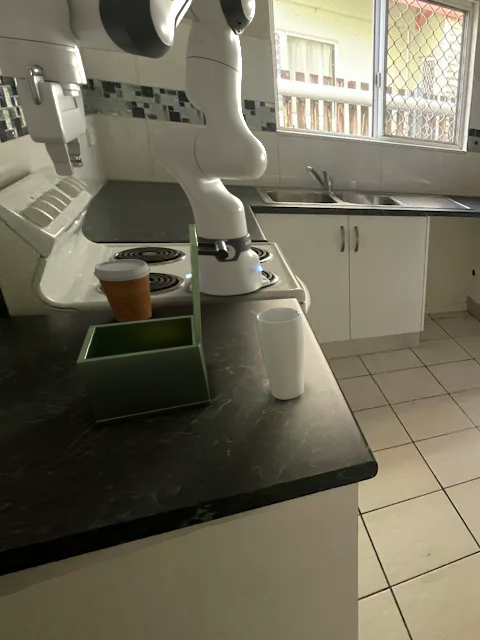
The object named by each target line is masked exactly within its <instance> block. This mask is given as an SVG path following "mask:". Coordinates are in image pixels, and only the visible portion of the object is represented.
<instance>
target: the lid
mask: <svg viewBox="0 0 480 640" xmlns="http://www.w3.org/2000/svg"><path fill="white" fill-rule="evenodd" d="M188 231H189V253H190V254H189V255H190V274H191V277H190V278H191V279H190V280H191V282H190V283H192V291H191V300H192V301H191V302H192V315H193V320H194V332H195V343H202V322H201V321H202V320H201V319H202V318H201V297H200V296H201V295H200V294H201V292H200V290H199V264H198V255H207V256H217V257H218V258H220V259H226V258H227V257H228V251H227V248H226V245H225V243H224V242H223V241H221V240H217V241H216V242H215V243H210V242H197V237H196V235H197V229H196V224H188ZM198 247H210V248H215V250H216V251H214V250H199V249H198Z"/></svg>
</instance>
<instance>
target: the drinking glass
mask: <svg viewBox="0 0 480 640" xmlns="http://www.w3.org/2000/svg"><path fill="white" fill-rule="evenodd" d="M255 317H256V328H257V334H258V335H257V336H258V341H259V346H260V349H261V354H262V357H263V362H264V366H265V370H266V374H267V378H268V383H269V389H270V394H271V396H272V397H273V398H275V399H277V400H280V401H281V400H283V401H289V400H293V399H295V398H298V397H300V396H301V395H303V393H304V391H305V383H304V343H305V342H304V326H303V325H304V324H303V320H302V319H303V317H302V312H301V311H300V310H298V309H295V308H291V307H273V308H267V309H264V310H261V311H260V312H258V313H257V314H256V316H255Z"/></svg>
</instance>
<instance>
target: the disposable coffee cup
mask: <svg viewBox="0 0 480 640" xmlns="http://www.w3.org/2000/svg"><path fill="white" fill-rule="evenodd" d="M150 271H151V267H150V266H149V265H148V264H147V262H146V261H144V260H141V259H134V258H133V259H132V258H131V259H130V258H128V259H127V258H125V259H114V260H113V259H112V260H107V261H103V262H100V263H98V264H96V265H95V266H94V271H93V275H94V276H95V278H96V279H97V280H98V282H99V284H100V286H101V288H102V290H103V293H104V295H105V297H106V299H107V301H108V304H109V306H110V308H111V310H112V313H113V315H114V317H115V319H116V321H117V322H118V323H123V322H132V321H142V320H149V319H150V318H152V315H153V314H152V301H151V300H152V299H151V297H152V296H151V285H150V284H151V283H150V273H151V272H150Z"/></svg>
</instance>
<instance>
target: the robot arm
mask: <svg viewBox="0 0 480 640" xmlns="http://www.w3.org/2000/svg"><path fill="white" fill-rule="evenodd" d="M255 12H256V1H255V0H0V72H1V75H2V76H3V77H6V78H12V79H13V78H14V79H15V80H16V91H17V94H18V99H19V104H20V108H21V111H22V115H23V119H24V122H25V126H26V130H27V133H28V135H29V137H30V139H31V141H33V142H34V143H37V144H44V146H45V150H46V152H47V155H48V156H49V158H50V160H51V162H52V163H53V167H54V170H55V174H57V175H58V176H59V177H70V176H73V175H74V173H75V170H74V168H83V166H84V160H83V156H82V144H81V139H80V137H81V136H83V135H85V134H86V133H87V122H86V121H87V120H86V114H85V107H84V100H83V93H82V90H81V89H82V88H81V85H88V81H87V77H86V73H85V68H84V64H83V60H82V56H81V52H80V49H87V50H88V49H89V50H95V51H105V52H113V53H122V54H130V55H133V56H138V57H144V58H148V59H149V58H150V59H153V60H154V59H161V58H163V57H165V55H166V54H167V53H168V52H169V51H170V50H171V48H172V47H173V44H174V42H175V38H176V32H177V29H178V26H179V24H180V23H181V21H182V20H183V19H186V20H190V21H191V24H190V25H191V26H190V29H189V32H188V33H189V34H188V38H187V44H186V51H185V52H186V53H185V72H184V74H185V75H184V94H185V97H186V98H187V100H188V102H189V103H190V104H191V105H192V106H193V107H195V108H196V109H197V110H198V111H200V112H201V113H203V114H204V119H205V128H203V127H195V126H185V125H184V126H183V125H174V126H166V127H160V128H158V129H156V130H155V131H154V133H153V135H152V137H151V138H150V139H151V140H150V151H151V155H152V156H153V159H154V160H155V162H156V163H158V165H159V166H160V167H161V168H163V169H164V170H165V171H167V172H168V173H169V174H170V175H171V176H172V177H173V178H174V179H175V181H176V182H177V183H178V185H180V187H181V188H182V190H183V191H184V193H185V195H186V197H187V199H188V201H189V204H190V206H191V210H192V214H193V219H194V224H195V229H196V237H197V242H210V243H215V242H216V241H217V240H221V241H223V242H224V243H225V245H226V248H227V251H228V257H227V258H226V259H220V258H218V257H217V256H207V255H198V264H199V290H200V293H203V294H207V295H211V296H237V295H243V294H249V293H252V292H255V291H257V290H259V289H261V288H263V287H265V286H269V285H271V280H270V279H269V278H268V277H266V276H265V275H264V274H263V273H262V271H263V268H262V267H261V261H260V256H259V255H258V254H257V253H256V252H254V251H253V250H252V249H251V248H252V239H251V236H250V233H249V232H248V227H247V219H246V212H245V207H244V204H243V202H242V201H241V200H240V199H239V198H238V197H237V196H235V195H234V194H232V193H231V192H230V191H228V190H227V188H226V187H225V186H224V184H223V182H222V181H221V180H222V179H223V180H231V181H248V180H255V179H256V180H257V179H259V178H261V177H262V176H263V175H264V173H265V171H266V170H267V165H268V156H267V152H266V150H265V147H264V146H263V143H261V141H260V139H258V138H256V137H255V135H254V134H253V133H252V132H251V130H250V129H249V127H248V125H247V124H246V121H245V118H244V116H243V113H242V98H241V97H242V95H241V92H242V52H241V45H240V44H241V43H240V38H239V36H240V35H242V34H243V33H244V31H245V29H246V28H247V27H249V26H250V23H251V22H252V21H253V19H254V17H255ZM198 250H214V251H216V250H215V248H210V247H198ZM185 277H186V279H189V278H191V273H189V274H186V275H185ZM188 290H189V291H190V292H192V282H190V285H189V286H188Z"/></svg>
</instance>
